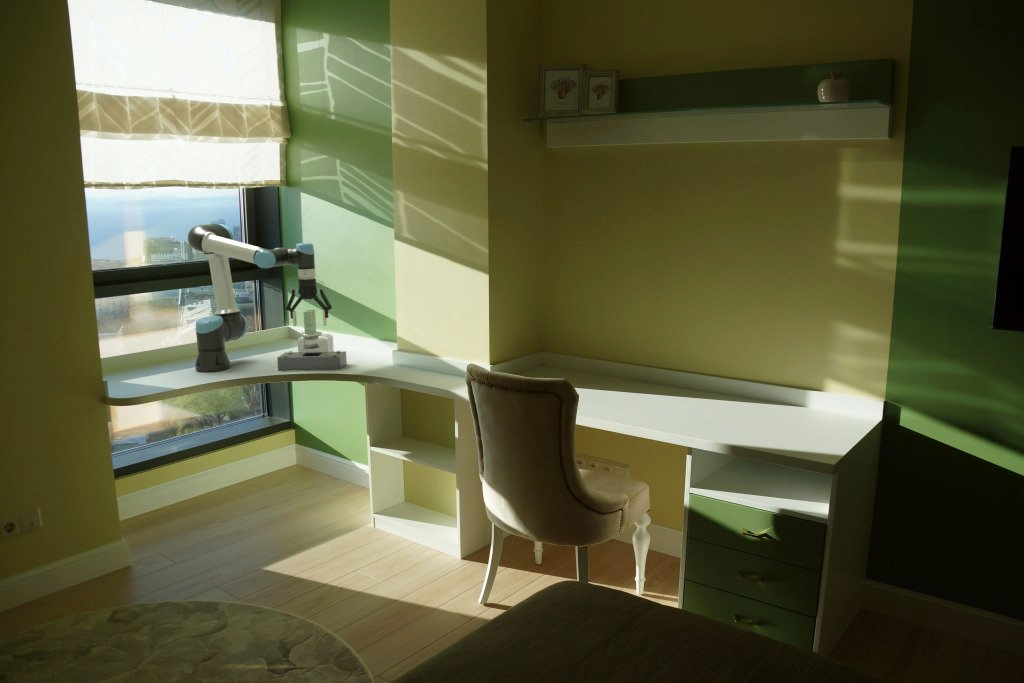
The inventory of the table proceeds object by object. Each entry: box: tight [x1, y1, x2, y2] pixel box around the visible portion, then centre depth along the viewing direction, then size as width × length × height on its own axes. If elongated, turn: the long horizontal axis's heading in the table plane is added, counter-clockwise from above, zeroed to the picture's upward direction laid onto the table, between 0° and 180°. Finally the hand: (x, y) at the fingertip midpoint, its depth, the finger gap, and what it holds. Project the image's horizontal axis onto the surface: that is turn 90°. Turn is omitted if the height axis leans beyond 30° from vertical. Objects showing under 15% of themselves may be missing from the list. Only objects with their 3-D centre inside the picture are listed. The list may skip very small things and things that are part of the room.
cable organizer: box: [297, 332, 335, 352], centre depth 393 cm, size 15×11×12 cm
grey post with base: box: [299, 309, 323, 349], centre depth 373 cm, size 10×10×16 cm
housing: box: [277, 350, 348, 372], centre depth 375 cm, size 28×12×7 cm, turn 88°
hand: (310, 325), depth 372 cm, fingers open, 13 cm apart
